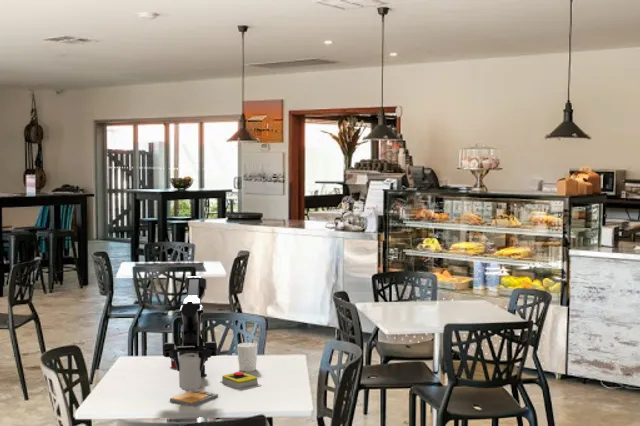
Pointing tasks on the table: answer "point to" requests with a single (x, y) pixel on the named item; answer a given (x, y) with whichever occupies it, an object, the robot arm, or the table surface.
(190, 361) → the can
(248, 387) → the emergency button
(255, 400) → the table surface
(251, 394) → the table surface
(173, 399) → the indicator board
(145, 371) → the table surface
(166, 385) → the table surface
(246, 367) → the white cup
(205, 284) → the robot arm
